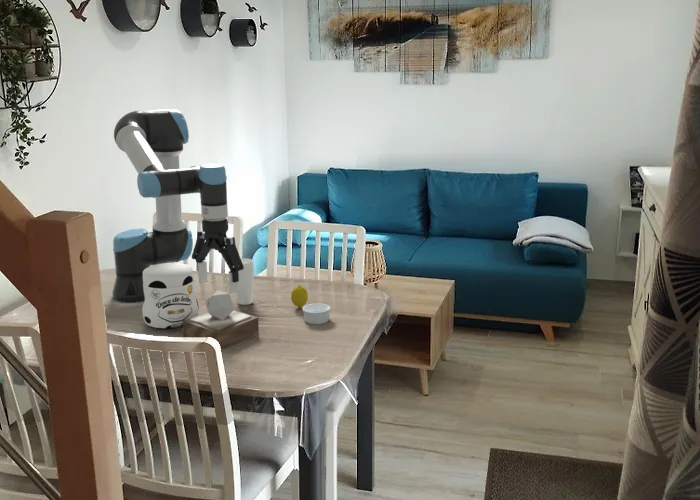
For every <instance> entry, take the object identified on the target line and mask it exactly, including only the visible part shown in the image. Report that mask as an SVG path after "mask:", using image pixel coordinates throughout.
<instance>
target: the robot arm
mask: <svg viewBox="0 0 700 500" xmlns="http://www.w3.org/2000/svg"><path fill="white" fill-rule="evenodd" d="M189 138H190V136H189V128H188V124H187V120H186V118H185V116H184V114H183V113H182V112H181V111H180V110H178V109H168V108H165V109H164V108H163V109H150V110H149V109H148V110H134V111H131V112H128V113H126V114H124V115H123V116H122V117H121V118H119V120H118V121H117V123H116V125H114V130H113V139H114V142H115V144H116V145H117V148H119V149H120V150H121V151H122V152H124V153H125V154H126V155H127V157H128V159H129V161H130V162H131V164H132V166H133V168H134V169H135V171H136V172H137V178H136V182H137V189H138V193H139V195H140V196H141V197H142V198H146V199H149V198H153V199H155V210H156V211H155V213H156V214H155V215H156V222H155V223H153V225H152V231H150V232H148V231H147V229H145V228H133V229H132V228H130V229H127V230H124V231H121V232H119V233H117V234H115V236H114V237H113V239H112V243H113V244H112V245H113V246H112V247H113V248H112V251H113V256H114V266H115V279H114V280H115V281H114V284H113V285H114V286H113V289H112V299H113V300H114V301H115V302H118V303H123V304H124V303H125V304H131V303H132V304H133V303H142V302H144V290H143V271H144V270H145V269H146V268H148V267H150V266H154V265H158V264H165V263H179V262H182V261H186V260H189V258H190V256H191V259H192V260H195V262H196V265H197V267H196V268H197V269H196V270H197V273H198V274H197V275H198V284H199V285H200V284H201V285H202V284H204V283H208V281H209V280H208V264H207V263H208V262H207V261H206V260H207V259H206V258H207V256H208V255H209V254H210V252H211V250H215V251H217V252H218V253H219V254H221V256H222V258H223V260H224V261H225V262H224V263H226V265H227V267H228V269H229V271H228V285H229V287H228V288H229V294H234V293H237V291H238V281H239V273H238V272H239V271H240V270H243V269H244V267H243V264H242V261H241V259H242V258H241V256H240V254H239V251H238V247H237V246H236V245H237V244H236V238H235V236H231V237H228V236H227V232H228V231H229V219H228V217H229V211H228V210H229V209H228V196H227V195H228V194H227V193H228V192H227V189H228V188H227V173H226V171H227V170H226V168H225V166H224V165H223V164H218V163H206V164H203V165H199V164H198V165H197V164H195V165H192V166H191V165H190V167H187V168H186V167H183V168H180V154H181V153H182V152H183V150H184V145H186V144H188V142H189ZM187 194H188V195H189V194H200V195H199V197H200V206H201V207H200V211H201V218H202V219H201V230H199V231H197V233H196V235H197V236H196V241H195V244H194V245H193V243H194V240H193V234H192V233H193V232H192V231H191V229H190V228H189V227H187V223H185V222H184V221H183V218H182V217H183V216H182V198H181V196H182V195H187Z"/></svg>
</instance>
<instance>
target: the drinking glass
mask: <svg viewBox="0 0 700 500" xmlns="http://www.w3.org/2000/svg"><path fill="white" fill-rule="evenodd" d="M241 261H242V264H243V267H244V269H243V270H240V271H239V272H238V273H239V281H238V291H237V292H236V301H237V302H236V303H237V304H238V305H241V306H248V305H251V304H253V302H254V282H255V279H254V277H255V269H254V268H255V267H254V265H255V264H254V260H253V259H251V258H241Z"/></svg>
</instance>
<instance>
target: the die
mask: <svg viewBox="0 0 700 500" xmlns="http://www.w3.org/2000/svg"><path fill="white" fill-rule="evenodd" d="M204 302H205V305H206V310H207V312H208V313H209V314H210V315H211V316H212V317H214V318H217V319H220V320H224V319H225V318H226V317H227V316H228V315H229V314H230V313H232V312H233V311H234V310H236V305H235V303H234V300H233V298H232V296H231V293H230V292H229V293H228V292H225V291H221V290H218V289H217V290H216V291H215V292H214V293H213V294H212V295H211V296H210V297H208V298H207V299H206V300H205V301H204Z"/></svg>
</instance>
